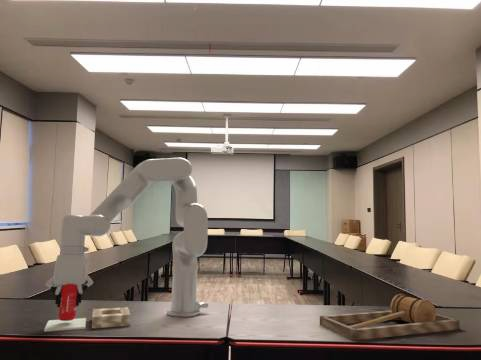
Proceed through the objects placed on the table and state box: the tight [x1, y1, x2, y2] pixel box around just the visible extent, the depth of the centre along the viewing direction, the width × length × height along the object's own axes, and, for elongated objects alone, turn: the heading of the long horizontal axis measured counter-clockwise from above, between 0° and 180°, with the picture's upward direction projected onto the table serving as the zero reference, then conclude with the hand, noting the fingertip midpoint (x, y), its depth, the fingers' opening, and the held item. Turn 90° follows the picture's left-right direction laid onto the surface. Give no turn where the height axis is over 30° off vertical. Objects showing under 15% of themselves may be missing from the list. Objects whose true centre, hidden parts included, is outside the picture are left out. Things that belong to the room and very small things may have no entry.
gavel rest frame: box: [319, 310, 461, 341], centre depth 132 cm, size 45×19×3 cm, turn 111°
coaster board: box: [43, 317, 87, 333], centre depth 125 cm, size 12×12×1 cm
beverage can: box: [58, 283, 78, 321], centre depth 126 cm, size 5×5×12 cm
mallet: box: [348, 293, 437, 329], centre depth 131 cm, size 12×38×10 cm, turn 113°
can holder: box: [91, 306, 132, 329], centre depth 130 cm, size 12×12×4 cm
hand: (68, 305), depth 126 cm, fingers closed on beverage can, 5 cm apart
